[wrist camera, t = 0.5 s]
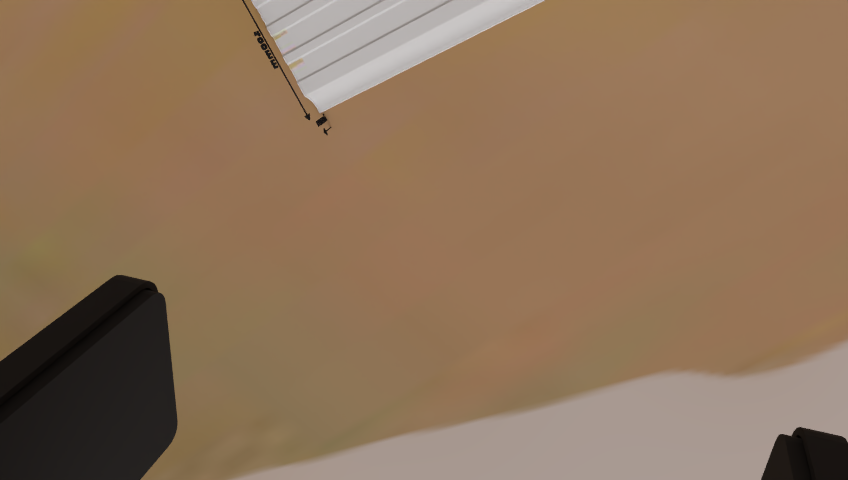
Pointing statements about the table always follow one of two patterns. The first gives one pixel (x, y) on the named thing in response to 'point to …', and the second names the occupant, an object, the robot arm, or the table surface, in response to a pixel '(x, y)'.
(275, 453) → the table surface
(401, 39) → the baseboard
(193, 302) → the table surface
